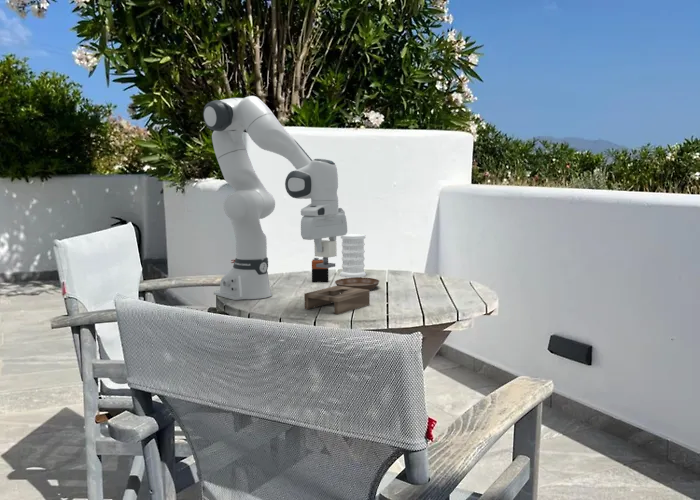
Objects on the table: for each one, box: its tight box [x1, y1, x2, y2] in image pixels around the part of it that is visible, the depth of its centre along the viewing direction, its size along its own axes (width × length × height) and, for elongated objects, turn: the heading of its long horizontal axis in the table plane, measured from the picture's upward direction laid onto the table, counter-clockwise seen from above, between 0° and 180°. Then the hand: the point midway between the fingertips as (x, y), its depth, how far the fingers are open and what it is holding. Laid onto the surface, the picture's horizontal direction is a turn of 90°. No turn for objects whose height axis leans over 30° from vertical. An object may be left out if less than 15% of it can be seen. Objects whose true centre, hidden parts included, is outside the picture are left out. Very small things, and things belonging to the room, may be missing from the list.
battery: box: [311, 257, 329, 283], centre depth 257 cm, size 4×7×10 cm, turn 90°
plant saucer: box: [334, 277, 380, 291], centre depth 243 cm, size 18×18×3 cm
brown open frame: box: [303, 285, 371, 315], centre depth 208 cm, size 14×18×5 cm
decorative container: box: [339, 233, 367, 278], centre depth 273 cm, size 12×12×18 cm
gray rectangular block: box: [313, 239, 338, 269], centre depth 202 cm, size 6×4×8 cm
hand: (325, 251), depth 202 cm, fingers closed on gray rectangular block, 4 cm apart
